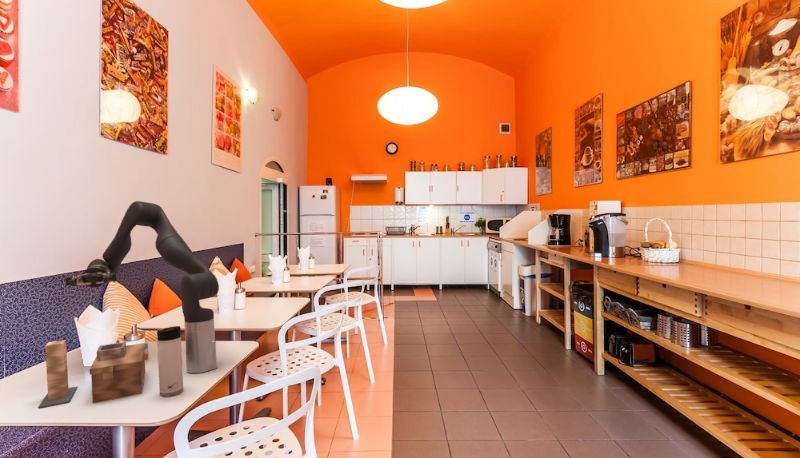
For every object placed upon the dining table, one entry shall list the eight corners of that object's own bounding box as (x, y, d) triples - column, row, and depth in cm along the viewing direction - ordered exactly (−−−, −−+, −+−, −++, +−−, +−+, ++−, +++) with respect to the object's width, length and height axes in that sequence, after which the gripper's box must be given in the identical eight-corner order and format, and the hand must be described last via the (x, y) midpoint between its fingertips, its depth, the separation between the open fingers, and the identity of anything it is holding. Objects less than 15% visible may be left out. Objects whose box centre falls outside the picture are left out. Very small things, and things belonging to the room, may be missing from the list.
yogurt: (144, 359, 156) (143, 342, 156) (148, 359, 156) (147, 342, 156) (124, 371, 144) (123, 353, 144) (128, 371, 144) (128, 353, 144)
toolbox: (146, 371, 144) (144, 333, 143) (142, 394, 125) (140, 351, 124) (101, 379, 137) (99, 340, 137) (91, 404, 119) (88, 359, 118)
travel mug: (174, 397, 122) (171, 330, 121) (154, 396, 123) (151, 329, 122) (189, 388, 128) (186, 324, 127) (170, 387, 129) (167, 323, 129)
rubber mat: (77, 387, 131) (77, 386, 131) (69, 402, 120) (69, 401, 120) (49, 392, 127) (48, 391, 127) (38, 408, 117) (38, 407, 117)
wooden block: (68, 392, 126) (65, 340, 126) (65, 397, 123) (62, 343, 122) (51, 395, 125) (48, 342, 124) (48, 400, 121) (45, 345, 120)
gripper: (71, 267, 149) (61, 272, 135) (119, 263, 156) (114, 268, 142) (72, 287, 150) (62, 295, 135) (120, 283, 157) (115, 290, 142)
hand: (89, 281), depth 139 cm, fingers open, 8 cm apart
